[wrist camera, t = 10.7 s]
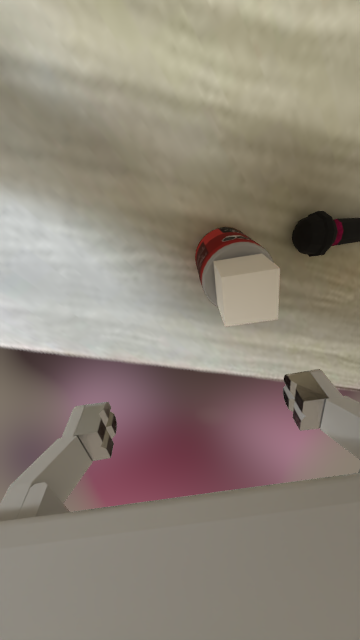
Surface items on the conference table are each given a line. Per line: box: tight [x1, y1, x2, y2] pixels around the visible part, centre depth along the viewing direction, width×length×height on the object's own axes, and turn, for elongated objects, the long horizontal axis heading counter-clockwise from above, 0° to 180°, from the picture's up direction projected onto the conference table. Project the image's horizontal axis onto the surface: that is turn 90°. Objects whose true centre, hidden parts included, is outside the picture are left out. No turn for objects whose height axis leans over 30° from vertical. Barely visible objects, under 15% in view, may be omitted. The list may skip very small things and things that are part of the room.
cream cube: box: [213, 253, 280, 327], centre depth 25 cm, size 5×5×5 cm
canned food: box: [195, 227, 274, 307], centre depth 31 cm, size 8×8×11 cm
